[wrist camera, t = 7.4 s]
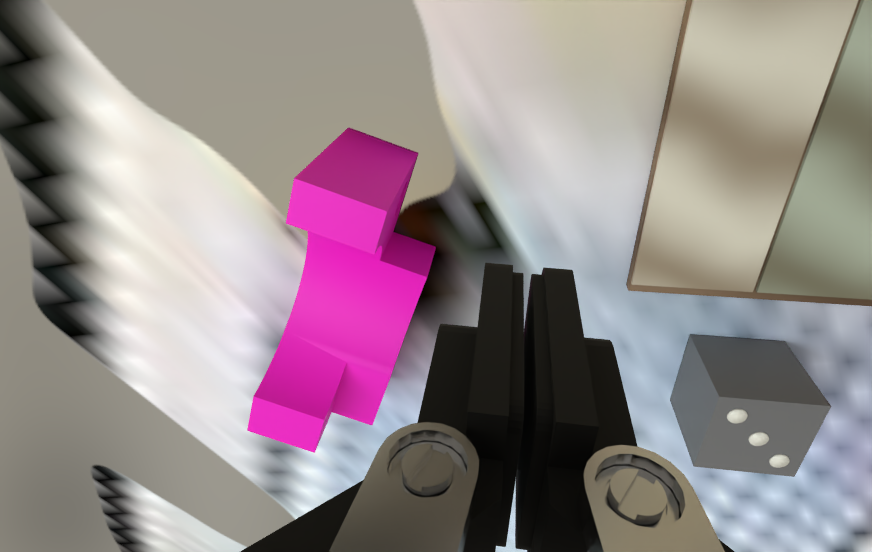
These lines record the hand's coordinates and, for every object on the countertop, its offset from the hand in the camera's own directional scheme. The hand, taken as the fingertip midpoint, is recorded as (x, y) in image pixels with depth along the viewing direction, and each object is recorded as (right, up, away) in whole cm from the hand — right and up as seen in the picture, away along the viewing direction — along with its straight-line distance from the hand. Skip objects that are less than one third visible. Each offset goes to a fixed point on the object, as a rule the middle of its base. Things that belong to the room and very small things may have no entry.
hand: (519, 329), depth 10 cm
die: (+15, -5, +20) cm, 25 cm away
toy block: (-5, +2, +20) cm, 21 cm away
